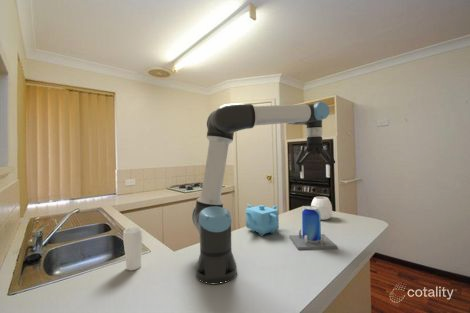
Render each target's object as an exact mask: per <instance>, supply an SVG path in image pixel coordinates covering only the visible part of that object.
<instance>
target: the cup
mask: <svg viewBox="0 0 470 313" xmlns="http://www.w3.org/2000/svg"><path fill="white" fill-rule="evenodd" d="M310 206H315V207H318V209H319V211H320V213H321V220H323V221H325V220H326V221H327V220H329V219H330V218H332V215H333V206H332V202H331V201H330V199H329V197H326V196H315V197H313V199H312V201H311V203H310Z"/></svg>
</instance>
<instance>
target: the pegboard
mask: <svg viewBox="0 0 470 313" xmlns="http://www.w3.org/2000/svg"><path fill="white" fill-rule="evenodd" d="M288 239H290V241H291V242H292V245H294V247H295V248H296V249H297V250H298V251H303V250H307V251H308V250H327V249H328V250H331V249H332V250H333V249H338V245H337V244H336V243H334V241H332V240H331V239H330V238H329V237H328V236H326V234H324V233H321V239H320V241H319V242H318V243H309V242H307V235H305V240H304V238H303V234H302V228H298V234H294V235H293V234H292V235H291V234H290V235H289V236H288Z"/></svg>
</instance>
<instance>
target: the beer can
mask: <svg viewBox="0 0 470 313" xmlns="http://www.w3.org/2000/svg"><path fill="white" fill-rule="evenodd" d="M301 214H302V215H301V216H302V217H301V218H302V219H301V223H302V225H301V226H302V228H301V235H303V238H304V240H305V235H307V242H309V243H318V242H319V241H320V239H321V234H322V229H321V226H322V224H321V222H322V221H321V213H320V211H319V209H318V207H315V206H311V205H305V206H303V209H302V211H301Z"/></svg>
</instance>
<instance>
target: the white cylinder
mask: <svg viewBox="0 0 470 313" xmlns="http://www.w3.org/2000/svg"><path fill="white" fill-rule="evenodd" d="M122 240H123V249H124V257H125V263H126V264H125V266H126V270H127V271H136V270H138V269H139V268H141V266H142V250H143V229H142V228H141V227H136V226H135V227H129V228H126V229H125V230H123V235H122Z"/></svg>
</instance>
